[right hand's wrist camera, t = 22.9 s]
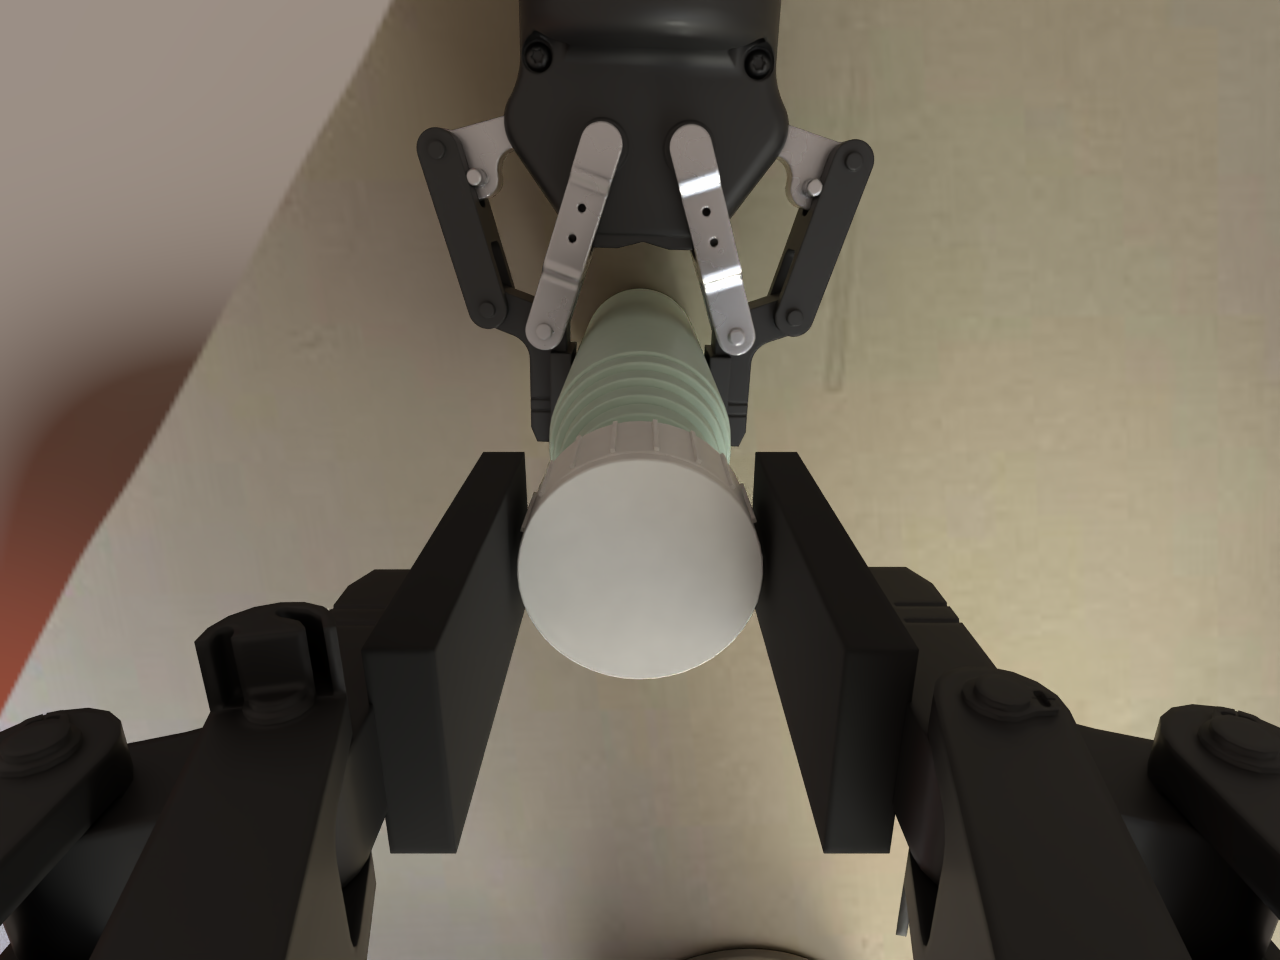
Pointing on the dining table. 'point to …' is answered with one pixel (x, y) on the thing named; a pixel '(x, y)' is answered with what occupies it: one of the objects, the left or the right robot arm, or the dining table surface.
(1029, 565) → the dining table surface
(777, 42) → the left robot arm
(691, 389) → the bottle
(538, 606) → the cap
